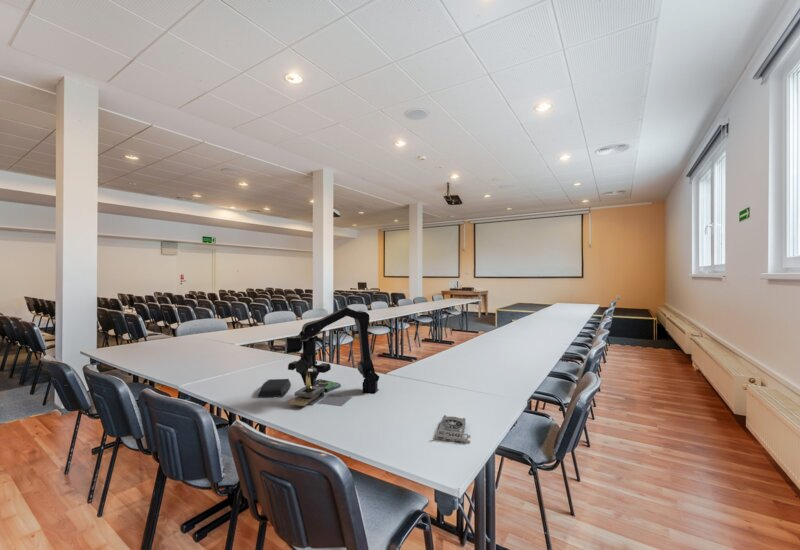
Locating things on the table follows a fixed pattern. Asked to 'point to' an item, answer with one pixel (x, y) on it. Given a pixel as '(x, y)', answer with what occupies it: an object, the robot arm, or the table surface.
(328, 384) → the disk drive
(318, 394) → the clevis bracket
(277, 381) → the external hard drive
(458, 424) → the graphics card
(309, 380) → the brass pin
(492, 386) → the table surface
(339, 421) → the table surface
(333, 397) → the rubber mat
